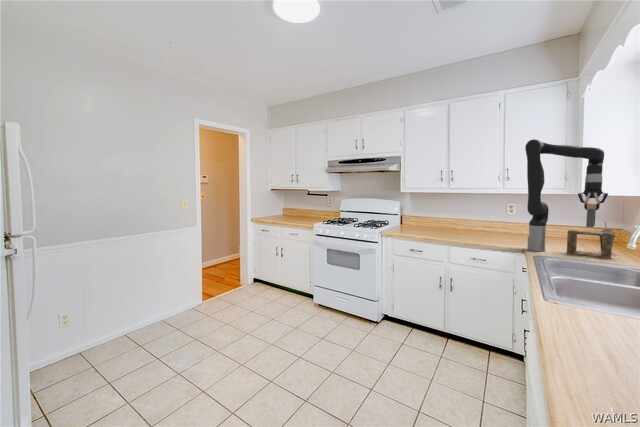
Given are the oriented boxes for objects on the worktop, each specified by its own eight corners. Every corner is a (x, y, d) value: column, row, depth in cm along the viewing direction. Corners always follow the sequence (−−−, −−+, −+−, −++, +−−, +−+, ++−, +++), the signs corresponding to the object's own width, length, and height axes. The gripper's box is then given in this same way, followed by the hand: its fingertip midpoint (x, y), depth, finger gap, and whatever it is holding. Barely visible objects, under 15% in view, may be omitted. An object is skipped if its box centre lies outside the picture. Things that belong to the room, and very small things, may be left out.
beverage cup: (616, 254, 182) (618, 223, 180) (601, 253, 184) (603, 222, 183) (610, 252, 188) (611, 222, 187) (595, 251, 191) (597, 221, 190)
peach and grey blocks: (585, 226, 175) (586, 203, 174) (587, 225, 181) (588, 203, 180) (594, 227, 172) (595, 204, 171) (595, 226, 178) (597, 203, 177)
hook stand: (566, 254, 184) (567, 231, 183) (568, 252, 191) (569, 229, 190) (610, 259, 169) (611, 234, 168) (611, 256, 176) (612, 232, 175)
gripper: (576, 181, 177) (575, 209, 179) (609, 181, 167) (607, 210, 168) (578, 182, 182) (577, 209, 184) (610, 181, 171) (608, 210, 173)
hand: (591, 209), depth 176 cm, fingers closed on peach and grey blocks, 4 cm apart
